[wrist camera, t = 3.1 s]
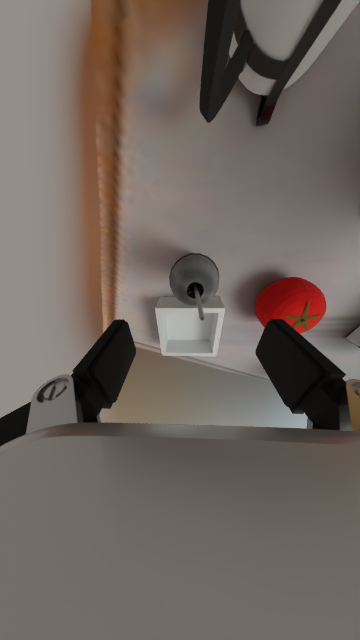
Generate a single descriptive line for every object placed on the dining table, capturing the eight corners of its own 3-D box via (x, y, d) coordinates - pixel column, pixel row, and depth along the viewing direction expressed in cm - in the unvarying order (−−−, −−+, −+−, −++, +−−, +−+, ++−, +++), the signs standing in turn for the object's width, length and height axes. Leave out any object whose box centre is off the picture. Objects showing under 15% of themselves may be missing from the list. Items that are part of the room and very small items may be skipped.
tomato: (288, 261, 27) (335, 274, 19) (306, 301, 32) (351, 326, 23) (239, 294, 32) (258, 318, 23) (261, 325, 37) (284, 354, 28)
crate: (159, 296, 33) (154, 308, 28) (219, 296, 32) (225, 308, 28) (165, 340, 42) (162, 355, 37) (212, 341, 41) (216, 356, 36)
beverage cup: (201, 238, 26) (224, 249, 9) (213, 272, 29) (246, 324, 13) (169, 256, 28) (142, 291, 11) (184, 286, 32) (180, 346, 15)
